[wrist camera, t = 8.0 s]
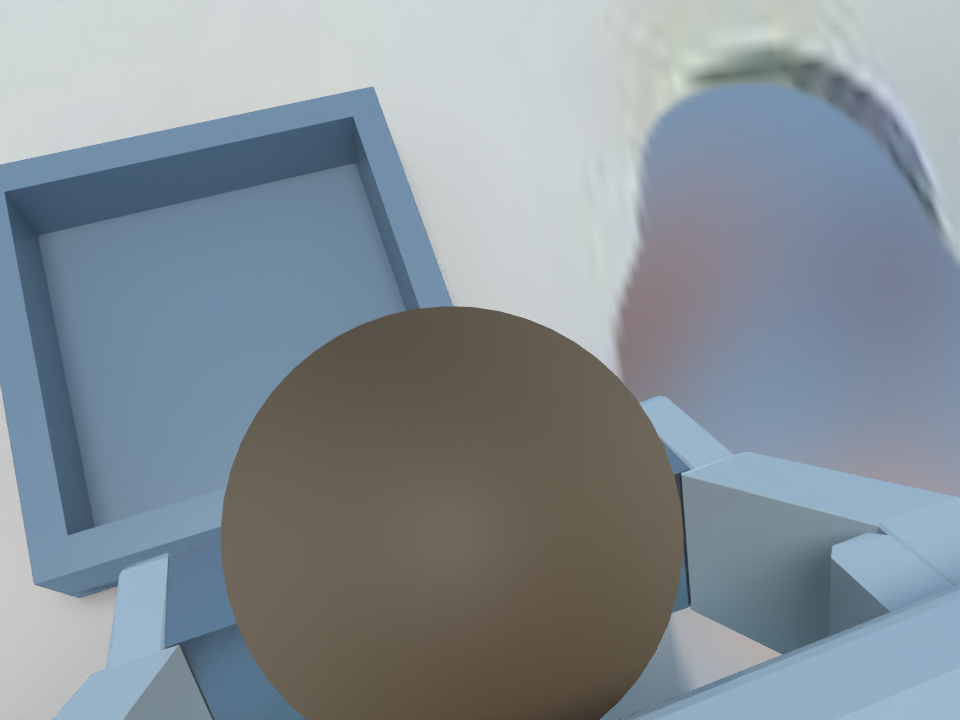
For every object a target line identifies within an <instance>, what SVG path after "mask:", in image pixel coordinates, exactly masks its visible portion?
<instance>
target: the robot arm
mask: <svg viewBox="0 0 960 720" xmlns="http://www.w3.org/2000/svg"><path fill="white" fill-rule="evenodd" d="M639 404H640V405H641V407H642V408H643V410H644V411H645V413H646V414H647V416H648V417H649V419H650V420H651V422H652V424H653V426H654V428H655V430H656V432H657V434H658V436H659V438H660V440H661V442H662V444H663V446H664V448H665V450H666V453H667V456H668V459H669V462H670V465H671V467H672V470H673V473H674V476H675V481H676V485H677V490H678V494H679V499H680V503H681V513H682V524H683V560H682V569H681V575H680V581H679V587H678V593H677V596H676V600H675V603H674V606H673V610H672V613H673V612H676V611H679V610H682V609H685V608H687V607H690V606H691V609H692V610H693V611H695V612H697V613H699V614H702V615H703V616H706V617H708V618H710V619H712V620H714V621H716V622H718V623H720V624H722V625H724V626H726V627H728V628H730V629H732V630H734V631H736V632H738V633H740V634H742V635H744V636H746V637H748V638H750V639H752V640H754V641H756V642H759V643H760V644H762V645H765V646H767V647H769V648H771V649H773V650H775V651H777V652H779V653H781V654H783V655H781V656H779V657H776V658H773V659H771V660H768V661H766V662H763V663H761V664H758V665H756V666H753V667H751V668H748V669H746V670H743V671H741V672H738V673H735V674H733V675H730V676H728V677H725V678H723V679H720V680H718V681H715V682H713V683H710V684H708V685H705V686H703V687H700V688H698V689H695V690H693V691H690V692H688V693H685V694H682V695H680V696H677V697H675V698H672V699H670V700H667V701H665V702H662V703H660V704H657V705H655V706H652V707H650V708H647V709H645V710H642V711H640V712H637V713H635V714H632V715H630V716H627V717H625V718H622V719H620V720H960V498H959V497H956V496H952V495H946V494H942V493H937V492H933V491H928V490H924V489H919V488H914V487H910V486H905V485H900V484H896V483H891V482H886V481H882V480H877V479H873V478H868V477H863V476H858V475H854V474H849V473H845V472H840V471H835V470H831V469H826V468H821V467H817V466H812V465H807V464H803V463H798V462H794V461H789V460H784V459H779V458H775V457H770V456H766V455H761V454H756V453H752V452H747V451H746V452H743V453H740V454H737V455H734V454H733V453H732V452H731V451H730V450H728V449H727V448H726V447H725V446H724V445H723V444H721V443H720V442H719V441H717V439H715V438H714V437H713V436H712V435H711V434H709V433H708V432H707V431H706V430H705V429H704V428H702V427H701V426H700V425H699V424H698V423H696V422H695V421H694V420H693V419H692V418H691V417H689V416H688V415H687V414H686V413H685V412H683V411H682V410H681V409H680V408H679V407H677V406H676V405H675V404H674V403H673V402H671V401H670V400H669V399H668V398H667V397H662V396H657V397H654V398H651V399H649V400H646V401H643V402H640V403H639ZM53 720H307V719H305V718H304V717H303V716H302V715H301V714H300V713H298V712H297V711H296V710H295V709H294V708H293V707H291V706H290V705H289V703H288V702H287V701H286V700H285V699H284V698H283V697H282V696H281V694H280V693H279V692H278V691H277V690H276V689H275V688H274V686H273V685H272V684H271V683H270V682H269V681H268V679H267V678H266V676H265V675H264V673H263V672H262V670H261V669H260V667H259V666H258V664H257V662H256V661H255V659H254V658H253V656H252V655H251V653H250V651H249V649H248V647H247V645H246V643H245V641H244V639H243V636H242V634H241V632H240V630H239V628H238V626H237V624H236V620H235V617H234V614H233V611H232V608H231V605H230V601H229V598H228V595H227V591H226V585H225V579H224V573H223V567H222V558H221V537H220V538H217V539H213V540H210V541H207V542H203V543H200V544H197V545H193V546H190V547H187V548H183V549H180V550H176V551H173V552H172V553H171V554H170V553H165V554H162V555H159V556H156V557H153V558H150V559H147V560H144V561H141V562H138V563H135V564H132V565H129V566H126V567H125V568H124V569H123V570H122V571H121V573H120V574H119V580H118V588H117V595H116V602H115V610H114V617H113V625H112V632H111V639H110V647H109V654H108V661H107V669H105V670H103V671H100V672H97V673H94V674H92V675H91V676H90V677H89V678H88V680H87V681H86V682H85V683H84V684H83V685H82V686H81V688H80V689H79V690H78V691H77V692H76V693H75V694H74V696H73V697H72V698H71V699H70V700H69V701H68V703H67V704H66V705H65V706H64V707H63V708H62V709H61V711H60V712H59V713H58V714H57V715H56V716H55V717H54V719H53Z"/></svg>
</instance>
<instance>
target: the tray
mask: <svg viewBox="0 0 960 720" xmlns="http://www.w3.org/2000/svg"><path fill="white" fill-rule="evenodd" d="M442 306H451V307H453V305H452V302H451V299H450V296H449V294H448V291H447V288H446V285H445V283H444V280H443V277H442V274H441V272H440V269H439V266H438V263H437V261H436V258H435V255H434V252H433V250H432V247H431V244H430V241H429V238H428V236H427V233H426V230H425V227H424V225H423V222H422V219H421V216H420V214H419V211H418V208H417V205H416V203H415V200H414V197H413V194H412V192H411V189H410V186H409V183H408V181H407V178H406V175H405V172H404V170H403V167H402V164H401V161H400V159H399V156H398V153H397V150H396V148H395V145H394V142H393V139H392V137H391V134H390V131H389V128H388V126H387V123H386V120H385V117H384V115H383V112H382V109H381V106H380V104H379V101H378V98H377V95H376V93H375V90H374V87H368V88H364V89H359V90H354V91H349V92H345V93H340V94H335V95H330V96H326V97H321V98H316V99H311V100H306V101H302V102H297V103H292V104H287V105H283V106H278V107H273V108H268V109H264V110H259V111H254V112H249V113H245V114H240V115H235V116H230V117H225V118H221V119H216V120H211V121H206V122H202V123H197V124H192V125H187V126H183V127H178V128H173V129H168V130H164V131H159V132H154V133H149V134H144V135H140V136H135V137H130V138H125V139H121V140H116V141H111V142H106V143H102V144H97V145H92V146H87V147H82V148H78V149H73V150H68V151H63V152H59V153H54V154H49V155H44V156H40V157H35V158H30V159H25V160H21V161H16V162H11V163H6V164H1V165H0V384H1V390H2V396H3V402H4V408H5V414H6V420H7V426H8V432H9V438H10V444H11V450H12V456H13V462H14V468H15V474H16V479H17V485H18V491H19V497H20V503H21V509H22V515H23V521H24V527H25V533H26V539H27V545H28V551H29V557H30V563H31V569H32V575H33V581H34V585H37V586H41V587H44V588H48V589H51V590H54V591H58V592H61V593H65V594H68V595H71V596H75V597H78V598H80V597H83V596H87V595H90V594H93V593H96V592H99V591H102V590H106V589H109V588H112V587H115V586H118V580H119V574H120V573H121V571H122V570H123V569H124V568H125V567H126V566H129V565H132V564H135V563H138V562H141V561H144V560H147V559H150V558H153V557H156V556H159V555H162V554H165V553H170V554H171V553H172V552H173V551H176V550H180V549H183V548H187V547H190V546H193V545H197V544H200V543H203V542H207V541H210V540H213V539H217V538H220V537H221V521H222V511H223V501H224V496H225V492H226V488H227V483H228V479H229V475H230V471H231V468H232V465H233V462H234V460H235V457H236V454H237V452H238V449H239V446H240V444H241V441H242V439H243V438H244V436H245V434H246V432H247V430H248V428H249V426H250V424H251V423H252V421H253V419H254V417H255V415H256V414H257V412H258V411H259V410H260V408H261V407H262V405H263V404H264V402H265V401H266V400H267V398H268V397H269V395H270V394H271V393H272V391H273V390H274V389H275V388H276V387H277V386H278V385H279V384H280V383H281V381H282V380H283V379H284V378H285V377H286V376H287V375H288V374H289V373H290V372H291V371H292V370H293V369H294V368H295V367H296V366H297V365H299V364H300V363H301V362H302V361H303V360H305V359H306V358H307V357H308V356H309V355H310V354H312V353H313V352H314V351H316V350H317V349H319V348H320V347H322V346H323V345H325V344H326V343H328V342H329V341H331V340H332V339H334V338H336V337H337V336H339V335H341V334H343V333H345V332H347V331H349V330H351V329H353V328H355V327H357V326H359V325H361V324H364V323H366V322H369V321H372V320H375V319H378V318H381V317H384V316H387V315H390V314H395V313H399V312H404V311H409V310H413V309H420V308H431V307H442Z"/></svg>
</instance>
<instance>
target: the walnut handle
mask: <svg viewBox="0 0 960 720" xmlns="http://www.w3.org/2000/svg"><path fill="white" fill-rule="evenodd" d="M221 558H222V567H223V573H224V579H225V585H226V591H227V595H228V598H229V601H230V605H231V608H232V611H233V614H234V617H235V620H236V624H237V626H238V628H239V630H240V632H241V634H242V636H243V639H244V641H245V643H246V645H247V647H248V649H249V651H250V653H251V655H252V656H253V658H254V659H255V661H256V662H257V664H258V666H259V667H260V669H261V670H262V672H263V673H264V675H265V676H266V678H267V679H268V681H269V682H270V683H271V684H272V685H273V686H274V688H275V689H276V690H277V691H278V692H279V693H280V694H281V696H282V697H283V698H284V699H285V700H286V701H287V702H288V703H289V705H290V706H291V707H293V708H294V709H295V710H296V711H297V712H298V713H300V714H301V715H302V716H303V717H304V718H305V719H307V720H599V719H600V718H601V717H602V716H604V715H605V714H606V713H607V712H608V711H609V710H610V709H611V708H612V707H614V706H615V705H616V704H617V703H618V702H619V701H620V700H621V698H622V697H623V696H624V695H625V694H626V692H627V691H628V690H629V689H630V688H631V687H632V685H633V684H634V683H635V682H636V681H637V679H638V678H639V677H640V675H641V674H642V672H643V670H644V669H645V667H646V666H647V664H648V662H649V661H650V659H651V658H652V656H653V655H654V653H655V651H656V649H657V647H658V645H659V643H660V640H661V638H662V636H663V634H664V632H665V629H666V627H667V625H668V623H669V620H670V616H671V613H672V610H673V606H674V603H675V600H676V596H677V593H678V587H679V581H680V575H681V569H682V560H683V524H682V513H681V503H680V499H679V494H678V490H677V485H676V481H675V476H674V473H673V470H672V467H671V465H670V462H669V459H668V456H667V453H666V450H665V448H664V446H663V444H662V442H661V440H660V438H659V436H658V434H657V432H656V430H655V428H654V426H653V424H652V422H651V420H650V419H649V417H648V416H647V414H646V413H645V411H644V410H643V408H642V407H641V405H640V404H639V402H638V401H637V399H636V398H635V397H634V396H633V395H632V394H631V392H630V391H629V390H628V389H627V388H626V386H625V385H624V384H623V383H622V382H621V381H620V379H619V378H618V377H617V376H616V375H615V374H614V373H613V372H611V371H610V370H609V369H608V368H607V367H606V366H605V365H604V364H603V363H602V362H601V361H600V360H598V359H597V358H596V357H595V356H593V355H592V354H590V353H589V352H588V351H586V350H585V349H583V348H582V347H581V346H579V345H578V344H577V343H575V342H573V341H572V340H570V339H568V338H566V337H564V336H563V335H561V334H559V333H557V332H555V331H554V330H552V329H550V328H547V327H545V326H542V325H540V324H538V323H535V322H533V321H530V320H528V319H525V318H522V317H518V316H514V315H511V314H507V313H503V312H500V311H494V310H487V309H481V308H474V307H451V306H442V307H431V308H420V309H413V310H409V311H404V312H399V313H395V314H390V315H387V316H384V317H381V318H378V319H375V320H372V321H369V322H366V323H364V324H361V325H359V326H357V327H355V328H353V329H351V330H349V331H347V332H345V333H343V334H341V335H339V336H337V337H336V338H334V339H332V340H331V341H329V342H328V343H326V344H325V345H323V346H322V347H320V348H319V349H317V350H316V351H314V352H313V353H312V354H310V355H309V356H308V357H307V358H306V359H305V360H303V361H302V362H301V363H300V364H299V365H297V366H296V367H295V368H294V369H293V370H292V371H291V372H290V373H289V374H288V375H287V376H286V377H285V378H284V379H283V380H282V381H281V383H280V384H279V385H278V386H277V387H276V388H275V389H274V390H273V391H272V393H271V394H270V395H269V397H268V398H267V400H266V401H265V402H264V404H263V405H262V407H261V408H260V410H259V411H258V412H257V414H256V415H255V417H254V419H253V421H252V423H251V424H250V426H249V428H248V430H247V432H246V434H245V436H244V438H243V439H242V441H241V444H240V446H239V449H238V452H237V454H236V457H235V460H234V462H233V465H232V468H231V471H230V475H229V479H228V483H227V488H226V492H225V496H224V501H223V511H222V521H221Z"/></svg>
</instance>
